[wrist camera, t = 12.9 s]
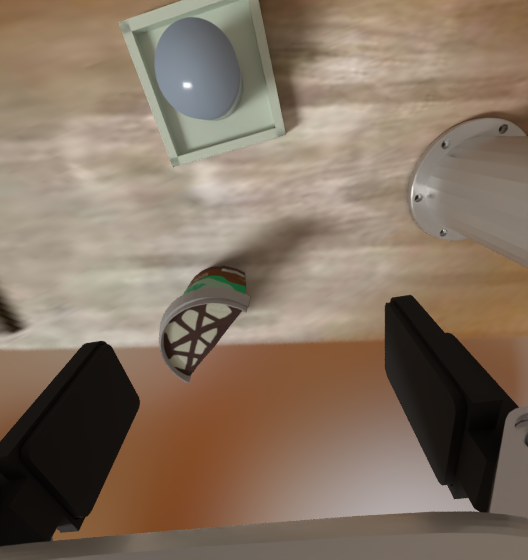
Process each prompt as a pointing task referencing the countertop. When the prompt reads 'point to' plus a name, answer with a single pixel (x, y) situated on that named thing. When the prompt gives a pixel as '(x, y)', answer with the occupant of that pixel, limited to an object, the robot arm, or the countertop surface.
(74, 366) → the robot arm
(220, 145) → the tray
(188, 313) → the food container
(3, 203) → the countertop surface
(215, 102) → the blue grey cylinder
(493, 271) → the countertop surface
